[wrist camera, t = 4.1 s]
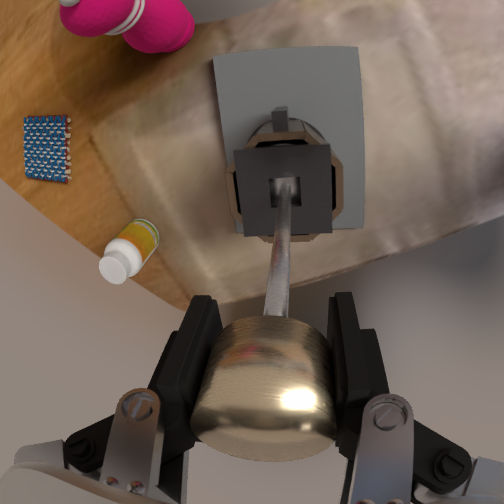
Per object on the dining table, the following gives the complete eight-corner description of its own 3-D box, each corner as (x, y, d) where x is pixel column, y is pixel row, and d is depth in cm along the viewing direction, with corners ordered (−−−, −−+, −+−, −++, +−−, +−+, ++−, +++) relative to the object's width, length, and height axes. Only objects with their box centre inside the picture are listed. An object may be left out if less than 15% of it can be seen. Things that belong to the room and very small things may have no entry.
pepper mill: (170, 67, 31) (59, 59, 13) (132, 36, 29) (15, 19, 11) (211, 24, 28) (129, -32, 10) (171, -6, 26) (72, -61, 8)
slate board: (355, 48, 27) (357, 46, 26) (361, 223, 38) (363, 227, 37) (215, 57, 30) (212, 56, 29) (238, 228, 40) (236, 232, 39)
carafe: (326, 104, 30) (345, 109, 19) (331, 197, 35) (347, 246, 25) (238, 110, 32) (211, 119, 21) (249, 201, 37) (231, 251, 26)
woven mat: (31, 176, 40) (23, 180, 38) (29, 114, 35) (20, 117, 33) (74, 182, 40) (66, 186, 38) (74, 113, 35) (66, 115, 33)
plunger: (327, 141, 22) (443, 335, 5) (330, 224, 26) (372, 472, 8) (236, 147, 23) (81, 333, 6) (246, 228, 27) (175, 465, 9)
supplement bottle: (133, 211, 41) (97, 243, 32) (165, 228, 42) (136, 265, 33) (123, 240, 43) (90, 275, 35) (153, 257, 44) (125, 296, 36)
